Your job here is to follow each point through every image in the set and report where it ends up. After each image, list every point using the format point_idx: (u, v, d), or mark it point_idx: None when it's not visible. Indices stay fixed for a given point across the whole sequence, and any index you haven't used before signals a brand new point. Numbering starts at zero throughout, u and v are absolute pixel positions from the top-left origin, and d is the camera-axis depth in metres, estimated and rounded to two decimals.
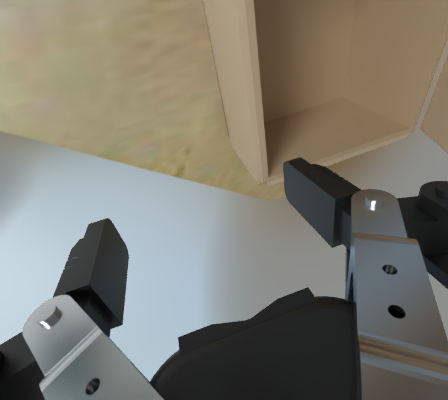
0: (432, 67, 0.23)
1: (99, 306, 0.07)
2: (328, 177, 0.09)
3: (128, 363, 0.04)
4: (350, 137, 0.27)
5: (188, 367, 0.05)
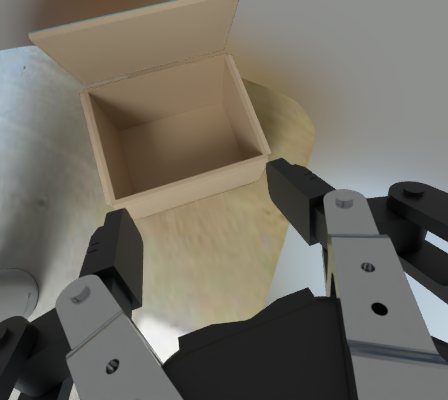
0: (185, 65, 0.37)
1: (122, 287, 0.08)
2: (305, 177, 0.09)
3: (146, 349, 0.04)
4: (236, 97, 0.38)
5: (188, 367, 0.05)
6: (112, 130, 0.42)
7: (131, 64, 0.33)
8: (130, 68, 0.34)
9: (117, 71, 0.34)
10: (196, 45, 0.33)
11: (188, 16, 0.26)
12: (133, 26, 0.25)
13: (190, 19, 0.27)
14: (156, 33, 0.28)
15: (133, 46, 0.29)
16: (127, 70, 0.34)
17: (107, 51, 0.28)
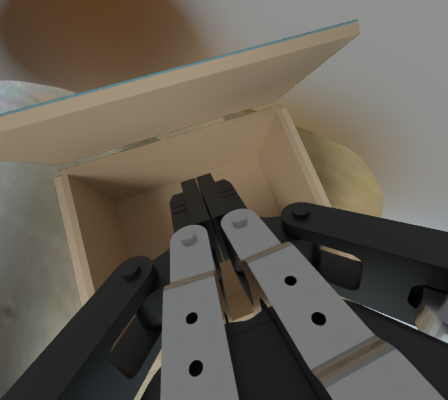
0: (218, 127, 0.24)
1: (212, 241, 0.09)
2: (219, 195, 0.09)
3: (221, 321, 0.05)
4: (293, 170, 0.25)
5: None
6: (107, 210, 0.29)
7: (136, 136, 0.20)
8: (134, 139, 0.21)
9: (113, 145, 0.21)
10: (241, 103, 0.21)
11: (247, 76, 0.14)
12: (143, 103, 0.13)
13: (249, 79, 0.14)
14: (184, 103, 0.15)
15: (141, 122, 0.16)
16: (129, 141, 0.22)
17: (94, 134, 0.16)
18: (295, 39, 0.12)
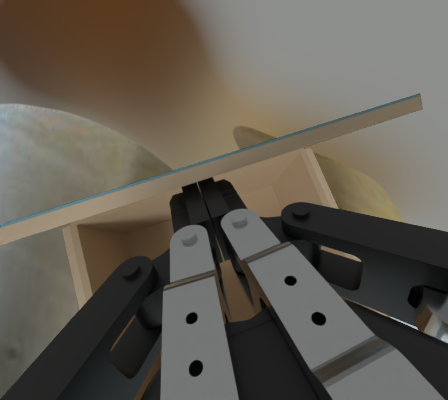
0: (238, 170, 0.22)
1: (212, 241, 0.09)
2: (219, 195, 0.09)
3: (221, 321, 0.05)
4: None
5: None
6: (117, 249, 0.28)
7: None
8: None
9: None
10: None
11: None
12: None
13: None
14: None
15: None
16: None
17: None
18: (349, 119, 0.10)
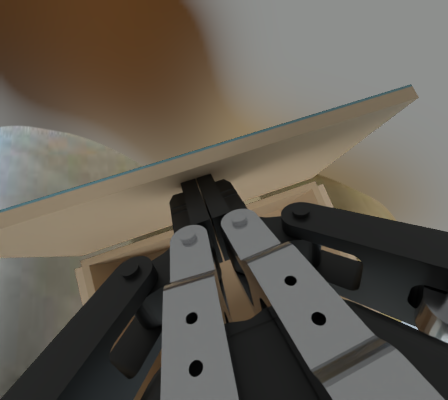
0: (250, 208, 0.22)
1: (212, 241, 0.09)
2: (219, 195, 0.09)
3: (221, 321, 0.05)
4: (328, 250, 0.23)
5: None
6: None
7: (163, 222, 0.19)
8: (161, 226, 0.20)
9: (138, 233, 0.19)
10: (276, 182, 0.19)
11: (288, 151, 0.12)
12: (170, 187, 0.11)
13: (289, 155, 0.13)
14: None
15: (168, 207, 0.15)
16: (156, 228, 0.20)
17: (116, 224, 0.14)
18: (343, 108, 0.11)
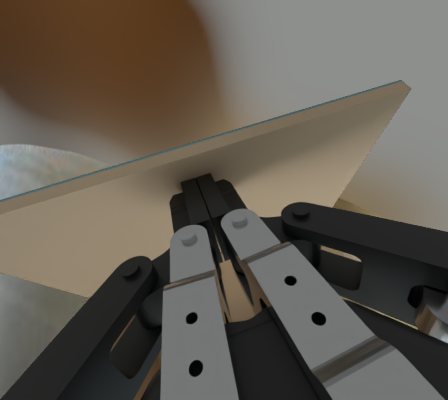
0: None
1: (212, 241, 0.09)
2: (219, 195, 0.09)
3: (221, 321, 0.05)
4: None
5: None
6: None
7: None
8: None
9: None
10: None
11: (288, 152, 0.12)
12: (170, 185, 0.11)
13: (291, 159, 0.13)
14: None
15: None
16: None
17: (119, 241, 0.14)
18: (335, 102, 0.11)
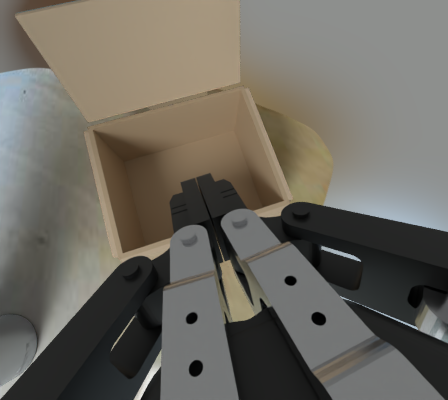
0: (199, 100, 0.34)
1: (212, 241, 0.09)
2: (219, 195, 0.09)
3: (221, 321, 0.05)
4: (253, 133, 0.35)
5: None
6: (118, 164, 0.39)
7: (137, 90, 0.30)
8: (137, 99, 0.31)
9: (123, 101, 0.31)
10: (206, 66, 0.31)
11: (186, 4, 0.25)
12: (127, 12, 0.24)
13: (190, 11, 0.25)
14: (156, 32, 0.26)
15: (134, 53, 0.27)
16: (135, 102, 0.32)
17: (105, 58, 0.26)
18: None
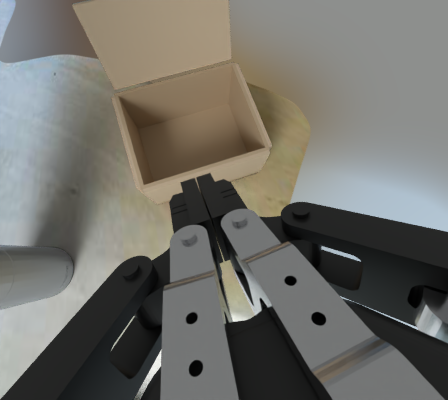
0: (199, 73, 0.43)
1: (212, 241, 0.09)
2: (219, 195, 0.09)
3: (221, 321, 0.05)
4: (242, 99, 0.45)
5: None
6: (135, 128, 0.49)
7: (152, 64, 0.40)
8: (152, 71, 0.41)
9: (141, 72, 0.41)
10: (205, 45, 0.40)
11: None
12: (148, 2, 0.33)
13: (193, 2, 0.35)
14: (168, 17, 0.36)
15: (151, 34, 0.37)
16: (150, 73, 0.41)
17: (131, 37, 0.36)
18: None
